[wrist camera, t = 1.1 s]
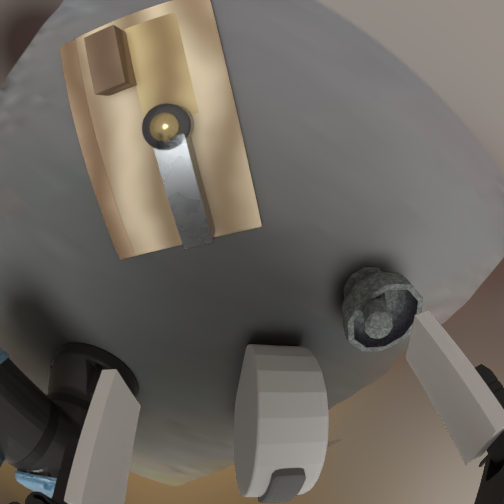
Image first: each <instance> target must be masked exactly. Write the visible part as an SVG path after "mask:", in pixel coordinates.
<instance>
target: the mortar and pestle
mask: <svg viewBox="0 0 504 504" xmlns="http://www.w3.org/2000/svg"><path fill="white" fill-rule="evenodd" d="M422 303H423V297H422V296H421V295H420V294H419V292H418V291H417V290H416V289H415V288H414V287H413V285H412V284H411V283H410V282H409V281H408V280H407V279H406V278H405V277H404V276H402V275H401V274H399V273H394V272H382V271H381V270H380V269H379V268H378V267H364V268H362V269H360V270H359V271H357V272H355V273H354V274H352V275H351V276H350V278H349V279H348V281H347V283H346V284H345V286H344V301H343V304H342V315H343V327H344V331H345V335H346V337H347V339H348V342H349V343H351V344H352V345H354V346H355V347H357V348H358V349H360V350H361V351H362V352H371V351H381V350H386V349H388V348H390V347H391V346H393V345H395V344H396V343H398V342H400V341H401V340H403V339H405V338H406V337H407V336H408V335H409V333H410V332H411V331H412V327H413V322H414V317H415V315H417V314H420V313H421V311H422Z"/></svg>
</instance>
